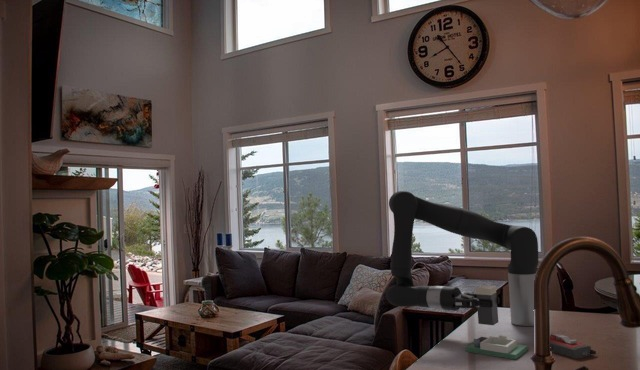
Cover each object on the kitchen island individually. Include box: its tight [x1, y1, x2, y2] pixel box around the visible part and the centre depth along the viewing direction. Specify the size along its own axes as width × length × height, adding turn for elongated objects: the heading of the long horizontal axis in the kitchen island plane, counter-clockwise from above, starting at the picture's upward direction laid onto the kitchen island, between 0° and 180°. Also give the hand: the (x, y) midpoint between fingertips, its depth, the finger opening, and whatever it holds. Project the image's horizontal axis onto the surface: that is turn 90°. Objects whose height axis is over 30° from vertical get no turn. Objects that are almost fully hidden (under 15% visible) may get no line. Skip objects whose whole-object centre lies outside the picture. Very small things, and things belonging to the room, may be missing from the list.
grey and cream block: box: [475, 284, 499, 326], centre depth 151 cm, size 4×4×11 cm
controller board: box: [465, 334, 529, 360], centre depth 140 cm, size 10×14×4 cm
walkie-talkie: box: [549, 333, 597, 360], centre depth 140 cm, size 9×4×20 cm
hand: (495, 302), depth 150 cm, fingers closed on grey and cream block, 4 cm apart
